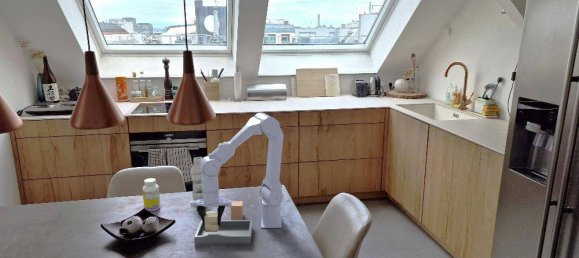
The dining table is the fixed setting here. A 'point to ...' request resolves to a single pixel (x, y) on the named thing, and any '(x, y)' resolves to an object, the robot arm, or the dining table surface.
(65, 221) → the dining table surface
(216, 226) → the beech block
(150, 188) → the supplement bottle
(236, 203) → the terracotta block
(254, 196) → the dining table surface
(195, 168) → the plastic bottle
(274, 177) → the robot arm
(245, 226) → the slate tray
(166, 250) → the dining table surface
